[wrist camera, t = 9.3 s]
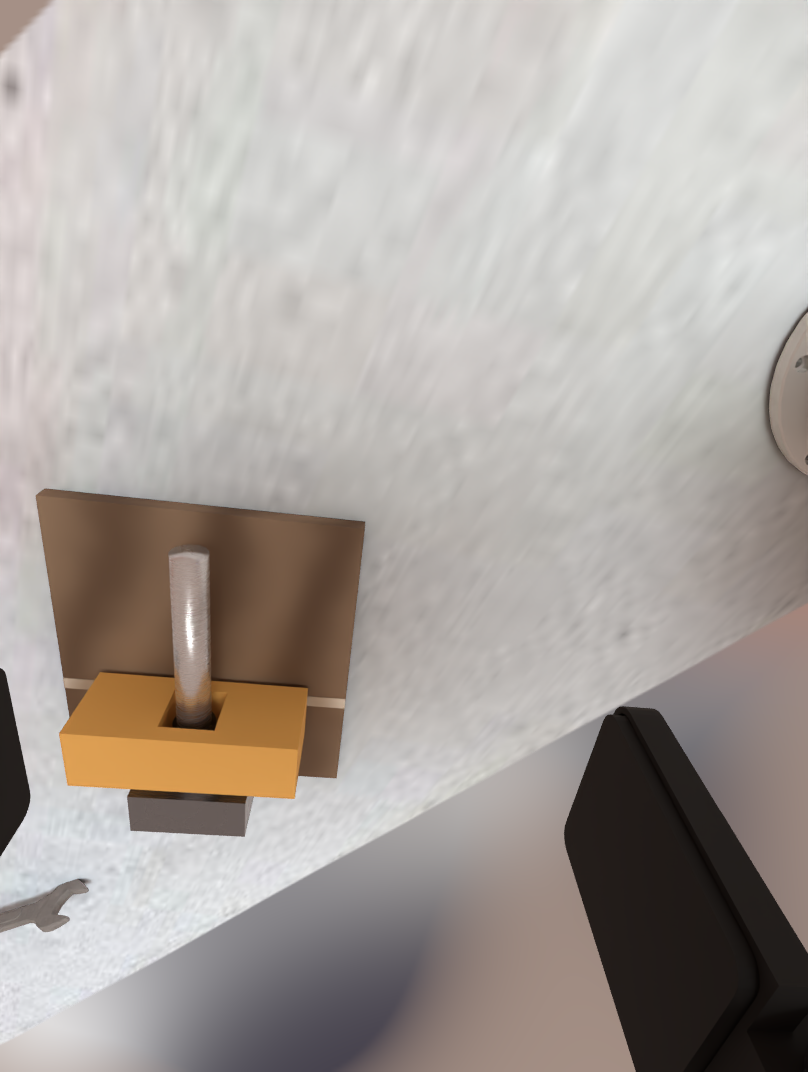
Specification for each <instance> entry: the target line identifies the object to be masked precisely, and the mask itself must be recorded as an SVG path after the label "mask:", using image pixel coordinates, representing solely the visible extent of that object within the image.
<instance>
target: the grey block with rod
mask: <svg viewBox="0 0 808 1072" xmlns="http://www.w3.org/2000/svg"><path fill="white" fill-rule="evenodd" d="M168 556H169V576H170V597H171V617H172V637H173V658H174V678H175V699H176V717H175V718H174V720H173V723H172V728H183V729H198V730H212V731H215V728H216V716H215V714H214V713H213V712H212V699H211V631H210V563H209V550H208V549H207V548H205V547H203V546H200V545H192V544H189V545H181V546H177V547H175V548H173V549H171V550H170V551H169V553H168ZM253 798H254V796H238V795H221V794H204V793H187V792H170V791H153V790H137V789H131V790H130V792H129V794H128V796H127V800H128V809H129V819H130V828H131V831H148V832H167V833H186V834H205V835H223V836H242V837H245V833H246V828H247V824H248V820H249V815H250V811H251V807H252V802H253Z"/></svg>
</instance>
